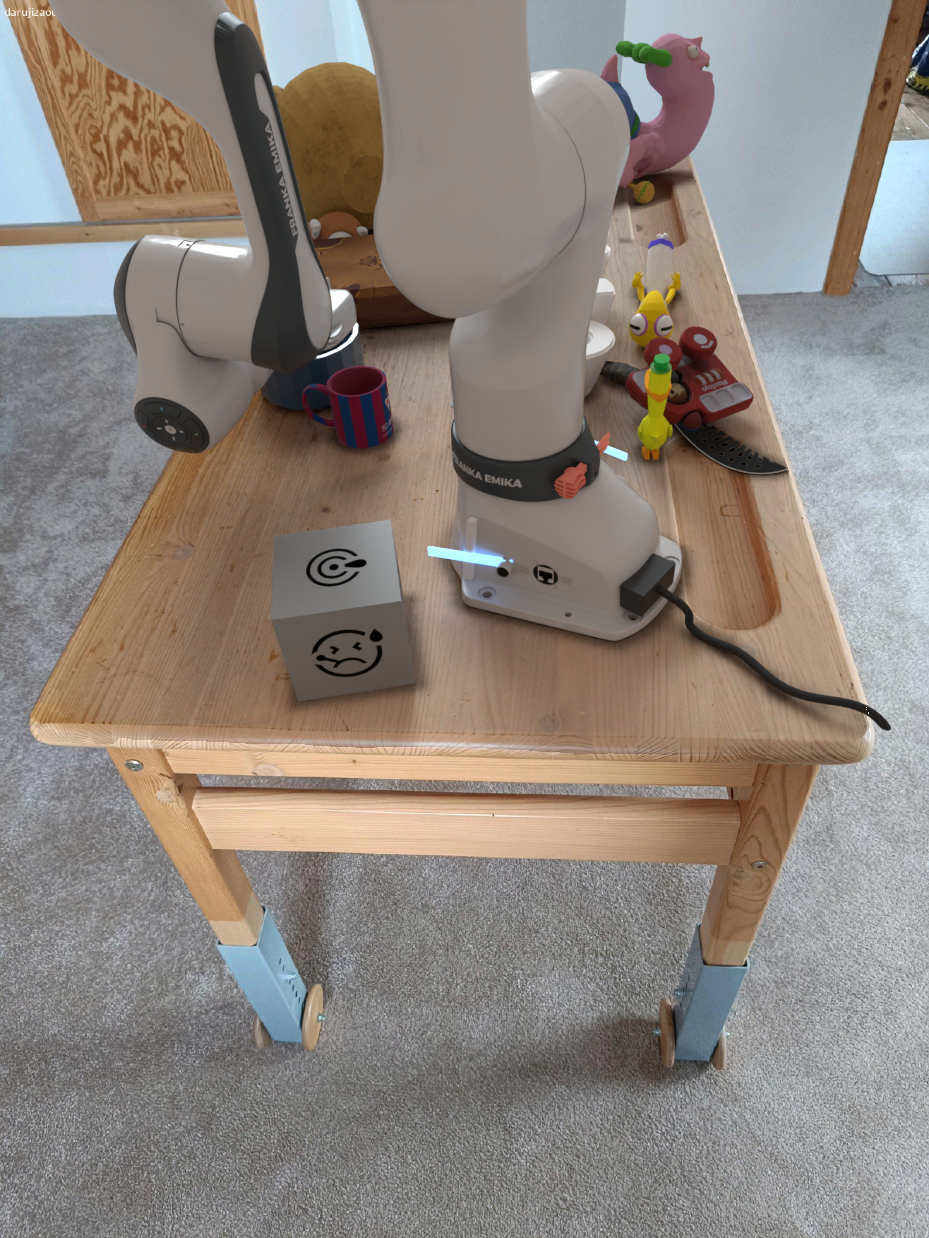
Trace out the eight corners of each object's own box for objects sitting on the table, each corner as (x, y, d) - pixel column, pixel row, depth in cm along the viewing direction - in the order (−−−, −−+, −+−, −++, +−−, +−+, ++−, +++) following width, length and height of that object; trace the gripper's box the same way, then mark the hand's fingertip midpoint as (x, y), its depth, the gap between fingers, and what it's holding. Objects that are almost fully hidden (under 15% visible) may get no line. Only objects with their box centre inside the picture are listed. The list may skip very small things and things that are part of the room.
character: (686, 227, 114) (683, 276, 99) (678, 302, 120) (673, 358, 105) (639, 226, 115) (628, 274, 100) (633, 300, 121) (622, 356, 106)
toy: (544, -3, 139) (701, 38, 148) (510, 159, 152) (656, 187, 162) (596, 5, 120) (772, 51, 129) (553, 189, 134) (714, 219, 143)
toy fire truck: (627, 345, 90) (685, 412, 87) (712, 317, 95) (771, 380, 91) (607, 392, 96) (661, 457, 93) (689, 364, 101) (743, 424, 97)
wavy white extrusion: (502, 284, 123) (500, 209, 115) (617, 284, 121) (622, 207, 113) (468, 418, 99) (462, 334, 92) (610, 421, 97) (615, 335, 89)
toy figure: (631, 436, 95) (639, 337, 86) (663, 435, 94) (675, 335, 86) (637, 472, 90) (647, 371, 81) (671, 471, 90) (684, 369, 81)
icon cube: (404, 602, 79) (390, 519, 72) (415, 683, 72) (401, 600, 65) (297, 618, 78) (273, 536, 71) (298, 701, 71) (271, 620, 64)
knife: (753, 495, 88) (788, 474, 89) (756, 481, 86) (791, 461, 88) (583, 378, 104) (615, 363, 105) (583, 365, 103) (615, 350, 104)
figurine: (300, 254, 121) (378, 243, 125) (281, 203, 123) (359, 194, 127) (296, 296, 129) (369, 285, 133) (279, 247, 131) (352, 238, 135)
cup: (385, 451, 96) (376, 398, 91) (302, 445, 98) (290, 394, 93) (400, 418, 100) (392, 366, 96) (321, 414, 102) (309, 363, 97)
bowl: (388, 373, 108) (380, 321, 103) (320, 425, 101) (308, 372, 96) (309, 350, 114) (298, 300, 109) (240, 397, 106) (225, 346, 101)
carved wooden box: (314, 337, 116) (305, 296, 112) (319, 278, 129) (311, 240, 125) (480, 320, 116) (478, 278, 112) (468, 263, 129) (466, 224, 125)
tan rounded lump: (353, 54, 113) (291, -3, 131) (259, 209, 122) (213, 135, 140) (472, 161, 130) (402, 97, 147) (381, 290, 139) (326, 215, 157)
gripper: (328, 316, 82) (368, 256, 91) (139, 310, 86) (195, 253, 95) (339, 375, 87) (376, 312, 96) (159, 366, 91) (211, 306, 100)
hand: (285, 282), depth 96 cm, fingers open, 8 cm apart
